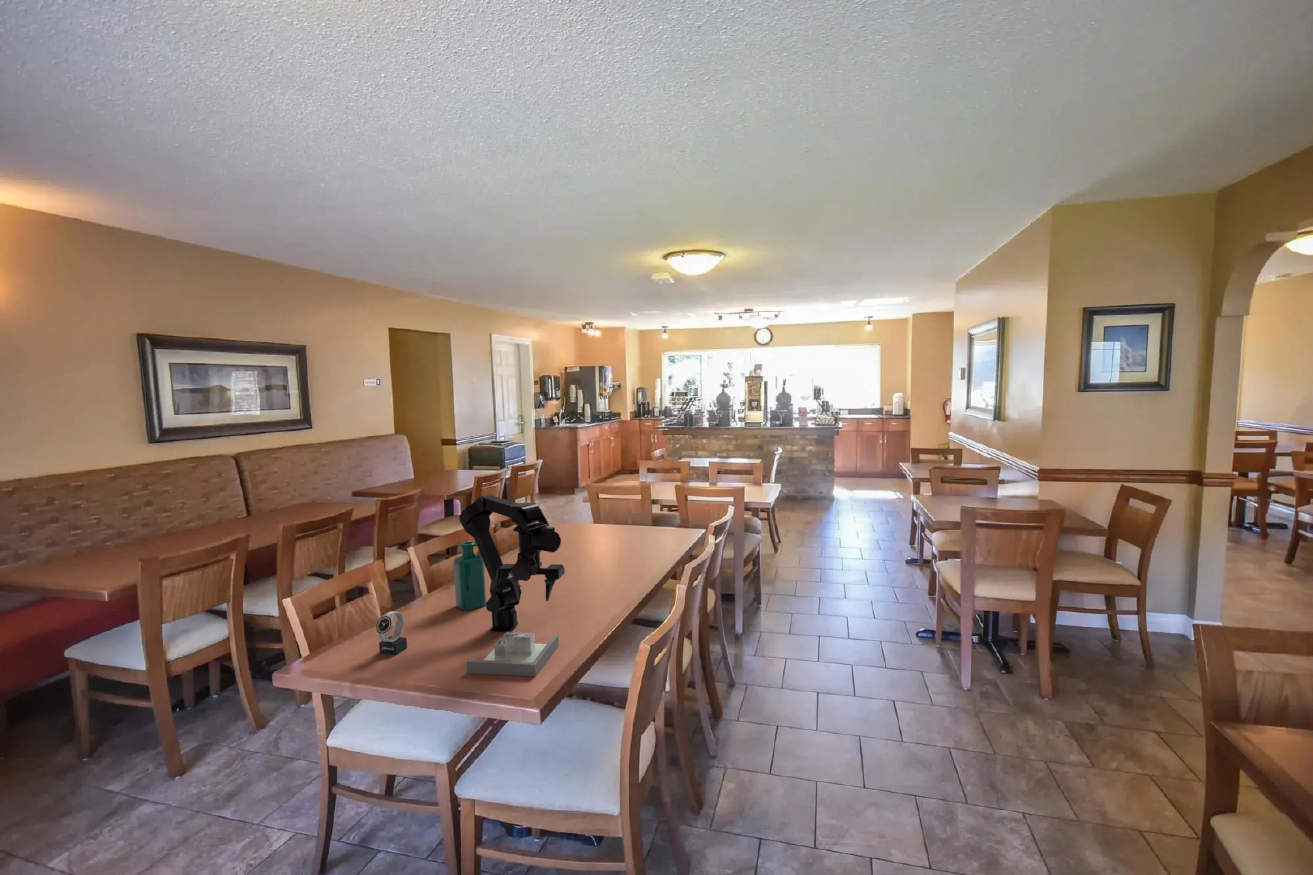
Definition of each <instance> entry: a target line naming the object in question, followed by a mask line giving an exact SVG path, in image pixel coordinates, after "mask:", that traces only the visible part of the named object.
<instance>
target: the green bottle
mask: <svg viewBox="0 0 1313 875" xmlns="http://www.w3.org/2000/svg"><path fill="white" fill-rule="evenodd" d="M458 546H459V547H460V548H461V550H462V552H461V555H458V556H456V557H454V559H453V573H454V574H453V576H454V577H453V580H454V588H455V589H454V590H455V592H454V593H455V606H456V607H457V608H459V609H460V610H462V611H465V612H468V611H471V610H475V609H479V608H483V607H486V602H487V595H486V593H487V592H486V591H487V590H486V579H485V578H486V576H485V564H484V561H483V559H482V557H481V554H480V552H479V549H478V551H477V552H476V553H475V552H474V547H477V544H476V542H475V541H472V540H471V541H468V540H467V541H463V542H461V543H459V544H458Z"/></svg>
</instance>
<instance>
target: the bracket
mask: <svg viewBox="0 0 1313 875" xmlns="http://www.w3.org/2000/svg"><path fill="white" fill-rule="evenodd" d="M535 636H536V635H535V632H525V631H522V632H521V631H505V633H504V634H503V635H502V636H501V637H500V638H499V639H497V641H496V642H495V643H494V644H493V650H494V652H495V661H509V659H510V658H511V657H512V656H513V655H532V654H533V653H534V651H535V644H536V640H535V639H536V638H535Z"/></svg>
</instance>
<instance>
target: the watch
mask: <svg viewBox="0 0 1313 875" xmlns="http://www.w3.org/2000/svg"><path fill="white" fill-rule="evenodd" d="M395 616H396V622H395V621H394V620H395ZM404 626H405V617H404V614H402V612H400V611H392V610H391V611H388V612H386V613H385V614H384V615H382V616H381V617H380V618H379V619H378V620H377V622H376V625H375V629H376V632H377V635H378V637H379V639H380V640H381V641H379V642H378V647H379V654H382V655H389V656H390V655H393V656H397V655H399V654H401V653H402V652H404V651H405V650H407V649H408V642H407V641H408V640H407V639H408V638H407V637H403V636H401V635H403V634H402V633H403V631H404ZM393 629H394V630H393ZM392 630H393V635H391V636H390V634H391V632H392Z"/></svg>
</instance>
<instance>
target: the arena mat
mask: <svg viewBox="0 0 1313 875" xmlns="http://www.w3.org/2000/svg"><path fill="white" fill-rule="evenodd" d="M547 644H548V643H535V651H534V653H533V654H532V655H513V656H512V657H511V658H510V659H509V661H513V662H533V661H534V660H535V659H536V657H537V656H538V655H539V654H540V652H541V651H542V650H543V649H544V647H545V646H546V645H547ZM483 660H490V661H495V652H494V649H493V650H492V651H491V652H490V653H489V654H488V655H487V656H486V657H485V658H483Z"/></svg>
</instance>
